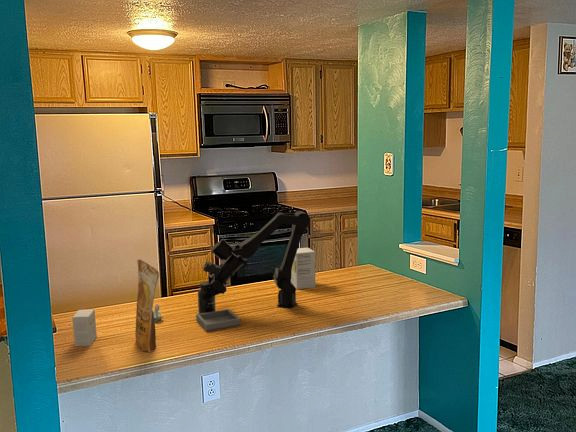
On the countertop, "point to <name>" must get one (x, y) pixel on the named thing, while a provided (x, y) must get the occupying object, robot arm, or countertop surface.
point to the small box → (84, 327)
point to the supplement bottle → (206, 304)
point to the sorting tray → (217, 320)
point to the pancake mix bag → (146, 306)
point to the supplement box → (303, 269)
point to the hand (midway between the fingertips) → (202, 296)
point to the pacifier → (157, 313)
